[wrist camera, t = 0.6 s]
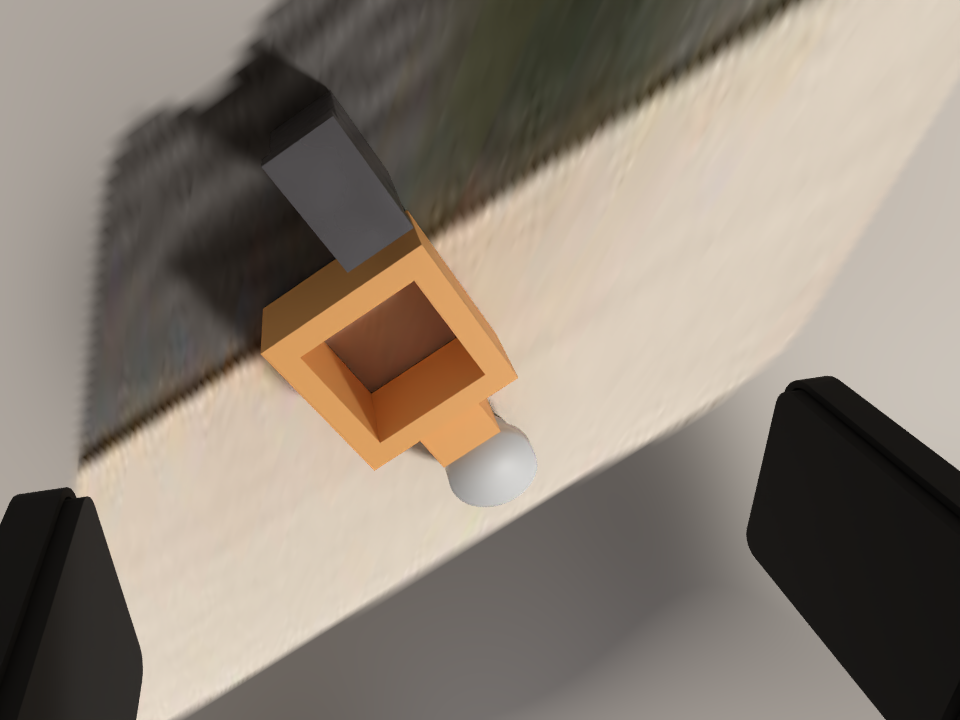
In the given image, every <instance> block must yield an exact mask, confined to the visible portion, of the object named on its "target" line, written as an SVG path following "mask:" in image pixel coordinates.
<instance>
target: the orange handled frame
mask: <svg viewBox="0 0 960 720" xmlns="http://www.w3.org/2000/svg"><path fill="white" fill-rule="evenodd" d="M405 213H406V214H407V216H408V217H409V218H410V220H411V223H412V225H413V227H414V228H413V229H411V230H410V231H408V232H407V233H405V234H404V235H402V236H401V237H399V238H398V239H397V240H395V241H394V242H392V243H391V244H389V245H388V246H386V247H385V248H383V249H382V250H380V251H379V252H377V253H376V254H375V255H373V256H372V257H370V258H369V259H367V260H366V261H364V262H363V263H361V264H360V265H358V266H357V267H356V268H354V269H353V270H351V271H350V272H348V273H347V271H346V270H345V269H344V268H343V267H342V265H341V264H340V263H339V262H338V260H337V259H335V260H333V261H332V262H331V263H329V264H328V265H326V266H325V267H323V268H322V269H320V270H319V271H317V272H316V273H315V274H313V275H312V276H310V277H309V278H307V279H306V280H304V281H303V282H301V283H300V284H298V285H297V286H296V287H294V288H293V289H291V290H290V291H288V292H287V293H285V294H284V295H282V296H281V297H280V298H278V299H277V300H275V301H274V302H272V303H271V304H269V305H268V306H266V307H265V308H263V318H262V337H261V355H262V356H263V357H264V358H265V359H266V360H267V361H268V362H269V363H270V364H271V365H272V366H273V367H274V368H275V369H276V370H277V371H278V372H279V373H280V374H281V375H282V376H283V377H284V378H285V379H286V380H287V381H288V382H289V384H290V385H291V386H292V387H293V388H294V389H295V390H296V391H297V392H298V393H299V394H300V395H301V396H302V397H303V398H304V399H305V400H306V401H307V402H308V403H309V404H310V405H311V406H312V407H313V408H314V409H315V410H316V411H317V412H318V413H319V414H320V415H321V416H322V417H323V418H324V419H325V420H326V421H327V422H328V423H329V424H330V426H331V427H332V428H333V429H334V430H335V431H336V432H337V433H338V434H339V435H340V436H341V437H342V438H343V439H344V440H345V441H346V442H347V443H348V444H349V445H350V446H351V447H352V448H353V449H354V450H355V451H356V452H357V453H358V454H359V455H360V456H361V457H362V458H363V459H364V460H365V461H366V462H367V463H368V464H369V465H370V467H371V468H372V469H373V470H374V471H375V470H376V469H378V468H379V467H381V466H382V465H384V464H385V463H387V462H388V461H390V460H392V459H393V458H395V457H396V456H398V455H399V454H401V453H402V452H404V451H406V450H407V449H409V448H410V447H412V446H413V445H415V444H416V443H418V442H419V441H421V442H422V444H423V445H424V446H425V447H426V448H427V449H428V450H429V451H430V453H431V454H432V455H433V456H434V457H435V458H436V459H437V460H438V461H439V463H440V464H441V465H442V466H443V467H445V469H446V473H447V476H448V480H449V483H450V486H451V489H452V491H453V493H454V494H455V495H456V496H457V497H458V498H459V499H460V500H462V501H463V502H465V503H467V504H470V505H472V506H477V507H493V506H498V505H502V504H505V503H507V502H509V501H511V500H513V499H515V498H517V497H518V496H519V495H521V494H522V493H523V492H524V491H525V490H526V489H527V488H528V487H529V485H530V484H531V483H532V481H533V479H534V477H535V474H536V471H537V458H536V455H535V453H534V450H533V448H532V446H531V444H530V442H529V440H528V438H527V436H526V435H525V434H524V433H523V432H522V431H521V430H520V429H518V428H517V427H515V426H513V425H510V424H507V423H506V422H505V421H504V420H503V419H501V418H500V417H497V416H494V414H493V412H492V409H491V407H490V405H489V402H488V400H487V398H488V397H489V396H491V395H492V394H494V393H495V392H497V391H499V390H500V389H502V388H503V387H505V386H506V385H508V384H509V383H511V382H513V381H514V380H516V379H517V378H518V376H517V374H516V372H515V371H514V369H513V367H512V365H511V363H510V361H509V359H508V357H507V355H506V353H505V351H504V349H503V347H502V345H501V343H500V341H499V339H498V337H497V335H496V333H495V332H494V331H493V329H492V328H491V326H490V325H489V324H488V322H487V321H486V319H485V318H484V317H483V315H482V314H481V312H480V311H479V310H478V308H477V307H476V305H475V304H474V303H473V301H472V300H471V298H470V297H469V296H468V294H467V293H466V291H465V290H464V289H463V287H462V286H461V284H460V283H459V282H458V280H457V279H456V277H455V276H454V275H453V273H452V272H451V271H450V269H449V268H448V266H447V265H446V264H445V262H444V261H443V259H442V258H441V257H440V255H439V254H438V252H437V251H436V250H435V248H434V247H433V245H432V244H431V243H430V241H429V240H428V238H427V237H426V236H425V234H424V233H423V231H422V230H421V229H420V227H419V226H418V224H417V223H416V222H415V220H414V219H413V217H412V216H411V215H410V213H409V212H408V210H406V211H405ZM413 281H415V282H416V284H417V285H418V286H419V288H420V289H421V290H422V292H423V293H424V294H425V296H426V297H427V298H428V300H429V301H430V302H431V304H432V305H433V306H434V308H435V309H436V310H437V312H438V313H439V314H440V315H441V317H442V318H443V319H444V321H445V322H446V323H447V325H448V326H449V327H450V329H451V330H452V331H453V333H454V334H455V335H456V337H457V338H455V339H454V340H452V341H451V342H449V343H448V344H446V345H445V346H443V347H442V348H440V349H439V350H437V351H436V352H434V353H433V354H431V355H430V356H428V357H427V358H425V359H424V360H422V361H421V362H419V363H417V364H416V365H414V366H413V367H411V368H410V369H408V370H407V371H405V372H404V373H402V374H401V375H399V376H398V377H396V378H395V379H393V380H392V381H390V382H389V383H387V384H386V385H384V386H383V387H381V388H380V389H378V390H376V391H375V392H373V393H372V394H371V393H370V392H369V391H368V390H367V389H366V388H365V386H364V385H363V384H362V383H361V382H360V381H359V380H358V379H357V378H356V376H355V375H354V374H353V373H352V372H351V371H350V370H349V369H348V368H347V366H346V365H345V364H344V363H343V362H342V361H341V360H340V359H339V358H338V356H337V355H336V354H335V353H334V352H333V351H332V350H331V349H330V348H329V346H328V345H327V344H326V343H325V342H324V341H325V340H327V339H328V338H330V337H331V336H333V335H334V334H336V333H337V332H339V331H340V330H342V329H343V328H345V327H346V326H348V325H349V324H351V323H352V322H354V321H355V320H357V319H358V318H360V317H361V316H363V315H364V314H366V313H367V312H369V311H370V310H371V309H373V308H374V307H376V306H377V305H379V304H380V303H382V302H383V301H385V300H386V299H388V298H389V297H391V296H392V295H394V294H395V293H397V292H398V291H400V290H401V289H403V288H404V287H406V286H407V285H409V284H410V283H412V282H413Z"/></svg>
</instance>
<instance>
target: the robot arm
mask: <svg viewBox="0 0 960 720" xmlns="http://www.w3.org/2000/svg"><path fill="white" fill-rule="evenodd" d="M746 535H747V542H748V546H749V548H750V550H751V553H752V554H753V556H754V557H755V558H756V560H757V561H758V562H759V563H760V565H761V566H762V567H763V568H764V569H765V571H766V572H767V573H768V574H769V576H770V577H771V578H772V579H773V581H774V582H775V583H776V584H777V585H778V587H779V588H780V589H781V591H782V592H783V593H784V594H785V596H786V597H787V598H788V599H789V600H790V602H791V603H792V604H793V605H794V607H795V608H796V609H797V610H798V612H799V613H800V614H801V615H802V616H803V618H804V619H805V620H806V622H807V623H808V624H809V625H810V626H811V628H812V629H813V630H814V631H815V633H816V634H817V635H818V636H819V637H820V639H821V640H822V641H823V642H824V644H825V645H826V646H827V647H828V649H829V650H830V651H831V652H832V654H833V655H834V656H835V657H836V659H837V660H838V661H839V662H840V664H841V665H842V666H843V667H844V668H845V669H846V671H847V672H848V673H849V675H850V676H851V677H852V678H853V680H854V681H855V682H856V683H857V685H858V686H859V687H860V688H861V690H862V691H863V692H864V693H865V694H866V696H867V697H868V698H869V699H870V701H871V702H872V703H873V704H874V706H875V707H876V708H877V709H878V710H879V712H880V713H881V714H882V715H883V717H884V718H885V719H886V720H960V471H959V470H957V469H956V468H955V467H954V466H952V465H951V464H950V463H948V462H947V461H946V460H944V459H943V458H942V457H940V456H939V455H938V454H936V453H935V452H934V451H933V450H931V449H930V448H929V447H927V446H926V445H925V444H923V443H922V442H920V441H919V440H918V439H917V438H915V437H914V436H913V435H911V434H910V433H909V432H907V431H906V430H905V429H903V428H902V427H901V426H899V425H898V424H897V423H895V422H894V421H893V420H891V419H890V418H889V417H887V416H886V415H885V414H884V413H882V412H881V411H879V410H878V409H877V408H876V407H874V406H873V405H872V404H870V403H869V402H868V401H866V400H865V399H864V398H862V397H861V396H860V395H858V394H857V393H856V392H854V391H853V390H852V389H850V388H849V387H848V386H846V385H845V384H844V383H843V382H841V381H840V380H838V379H836V378H835V377H832V376H823V377H816V378H810V379H803V380H796V381H793V382H791V383H790V384H789V385H788V386H787V387H786V389H785V392H784V393H781V394H780V396H779V397H778V399H777V401H776V405H775V409H774V414H773V418H772V422H771V427H770V431H769V435H768V440H767V444H766V448H765V453H764V457H763V461H762V466H761V470H760V474H759V479H758V483H757V487H756V492H755V496H754V500H753V505H752V510H751V513H750V518H749V522H748V526H747V533H746ZM142 676H143V663H142V654H141V649H140V645H139V642H138V639H137V636H136V633H135V630H134V627H133V624H132V620H131V617H130V614H129V611H128V608H127V605H126V602H125V599H124V595H123V592H122V589H121V586H120V583H119V580H118V577H117V574H116V570H115V567H114V564H113V561H112V558H111V555H110V552H109V549H108V545H107V542H106V539H105V536H104V533H103V530H102V527H101V524H100V520H99V517H98V514H97V511H96V508H95V505H94V503H93V501H92V499H91V498H90V497H81V498H76V496H75V493H74V492H73V491H72V489H71V488H68V487H66V488H59V489H52V490H45V491H38V492H32V493H25V494H19V495H16V496H14V497H13V498H12V500H11V502H10V503H9V506H8V508H7V510H6V512H5V515H4V517H3V519H2V522H1V524H0V720H136V717H137V710H138V704H139V697H140V691H141V684H142Z"/></svg>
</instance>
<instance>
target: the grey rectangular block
mask: <svg viewBox="0 0 960 720" xmlns="http://www.w3.org/2000/svg"><path fill="white" fill-rule="evenodd" d="M261 167H262V169H263V170H264V171H265V172H266V173H267V175H268V176H269V177H270V178H271V180H272V181H273V182H274V183H275V184H276V186H277V187H278V188H279V189H280V191H281V192H282V193H283V194H284V195H285V197H286V198H287V199H288V200H289V202H290V203H291V204H292V205H293V207H294V208H295V209H296V210H297V211H298V213H299V214H300V215H301V216H302V218H303V219H304V220H305V221H306V222H307V224H308V225H309V226H310V227H311V229H312V230H313V231H314V232H315V233H316V235H317V236H318V237H319V238H320V240H321V241H322V242H323V243H324V245H325V246H326V247H327V248H328V249H329V251H330V252H331V253H332V254H333V256H334V257H335V258H336V259H337V260H338V262H339V263H340V264H341V265H342V267H343V268H344V269H345V270H346V271H347V273H348V272H350V271H351V270H353V269H354V268H356V267H357V266H358V265H360V264H361V263H363V262H364V261H366V260H367V259H369V258H370V257H372V256H373V255H375V254H376V253H377V252H379V251H380V250H382V249H383V248H385V247H386V246H388V245H389V244H391V243H392V242H394V241H395V240H397V239H398V238H399V237H401V236H402V235H404V234H405V233H407V232H408V231H410V230H411V229H413V228H414V227H413V225H412V223H411V220H410V218H409V217H408V216H407V214H406V213H405V212H404V209H403V207H402V204H401V202H400V199H399V197H398V195H397V192H396V190H395V187H394V185H393V182H392V180H391V178H390V175H389V173H388V171H387V170H386V168H385V167H384V165H383V164H382V163H381V161H380V160H379V158H378V157H377V156H376V154H375V153H374V151H373V150H372V149H371V147H370V146H369V144H368V143H367V141H366V140H365V139H364V137H363V136H362V134H361V133H360V132H359V130H358V129H357V127H356V126H355V125H354V123H353V122H352V120H351V119H350V117H349V116H348V115H347V113H346V112H345V110H344V109H343V108H342V106H341V105H340V103H339V102H338V101H337V99H336V98H335V96H334V95H333V93H332V92H331V91H330V90H329V91H328V92H327V93H325V94H324V95H323V96H321V97H320V98H318V99H317V100H316V101H314V102H313V103H311V104H310V105H309V106H307V107H306V108H304V109H303V110H302V111H300V112H299V113H297V114H296V115H295V116H293V117H292V118H290V119H289V120H288V121H286V122H285V123H283V124H282V125H281V126H279V127H278V128H276V129H275V130H274V131H272V132H271V137H270V154H269V155H267V156H266V157H265V158H263V159H262V164H261Z"/></svg>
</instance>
